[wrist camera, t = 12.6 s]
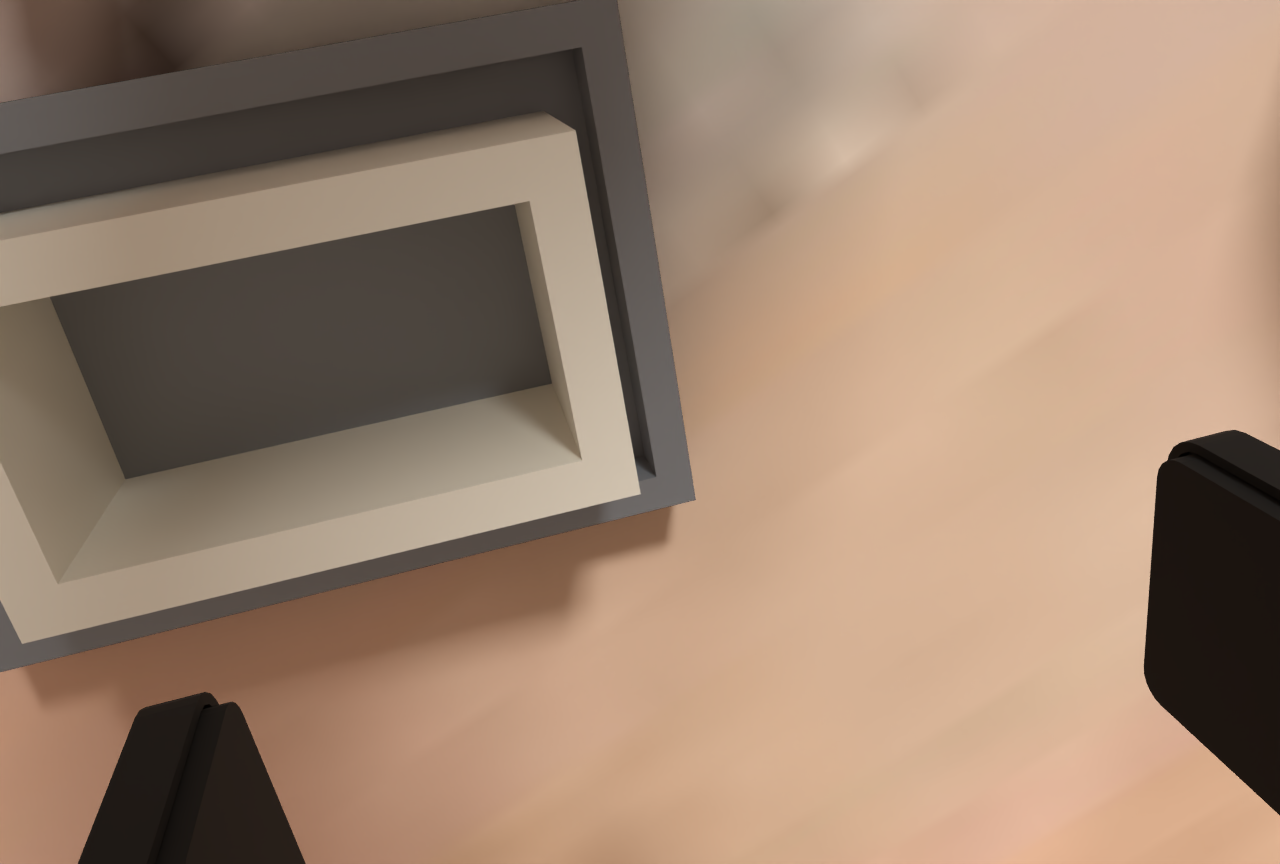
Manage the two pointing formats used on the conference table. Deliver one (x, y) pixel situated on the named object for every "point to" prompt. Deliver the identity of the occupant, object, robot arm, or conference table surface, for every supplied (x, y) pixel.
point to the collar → (314, 467)
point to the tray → (348, 269)
